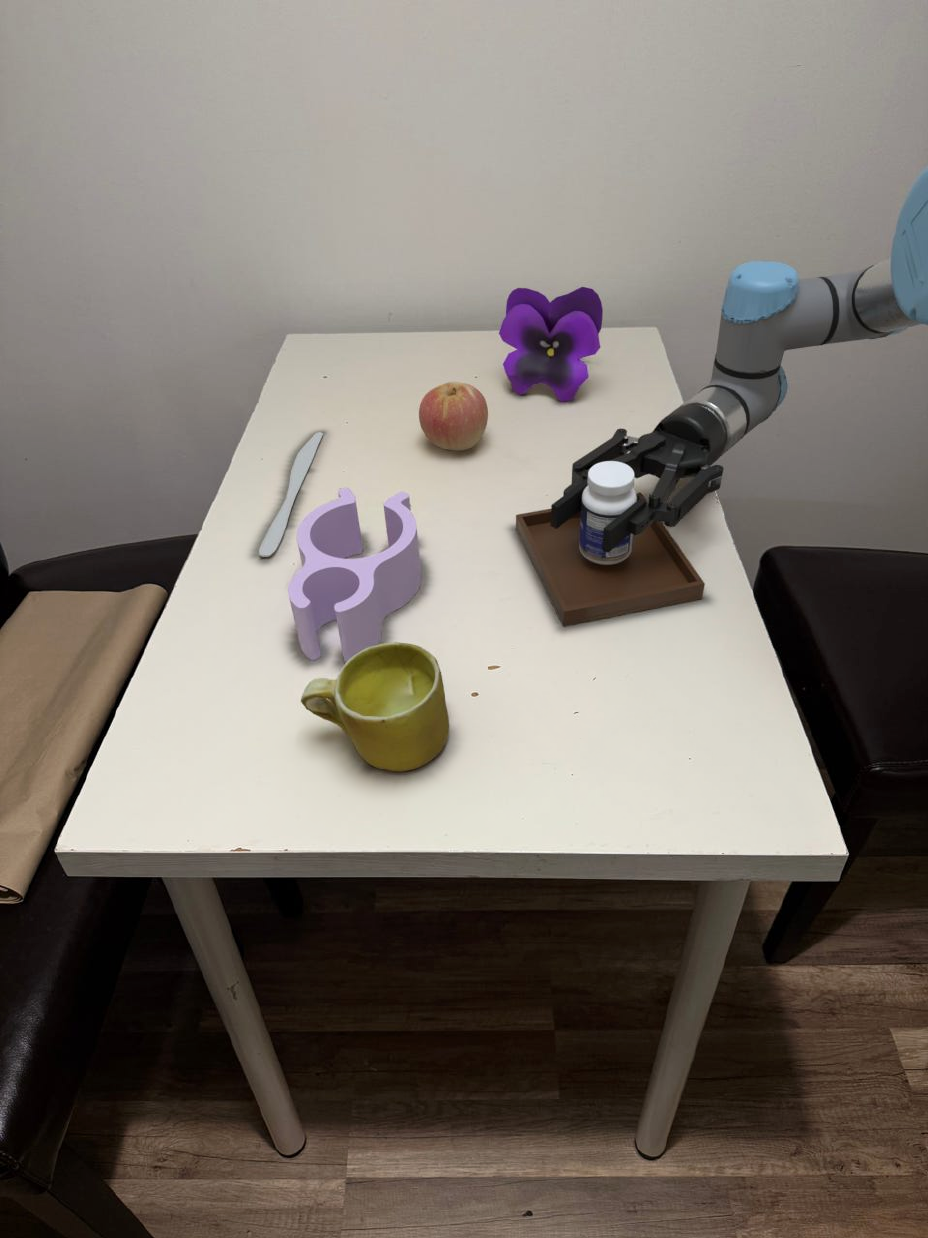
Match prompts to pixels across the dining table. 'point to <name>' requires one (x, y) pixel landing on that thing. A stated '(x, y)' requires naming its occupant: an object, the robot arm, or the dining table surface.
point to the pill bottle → (605, 510)
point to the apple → (453, 415)
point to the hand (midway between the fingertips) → (579, 528)
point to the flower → (551, 339)
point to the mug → (386, 705)
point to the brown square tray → (606, 570)
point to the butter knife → (290, 496)
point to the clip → (352, 573)
